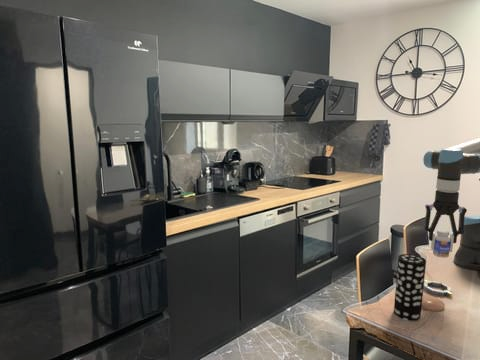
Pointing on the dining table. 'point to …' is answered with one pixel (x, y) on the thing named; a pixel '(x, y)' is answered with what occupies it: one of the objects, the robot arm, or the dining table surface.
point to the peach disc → (432, 303)
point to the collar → (437, 292)
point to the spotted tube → (409, 287)
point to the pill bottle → (442, 244)
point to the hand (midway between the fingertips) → (441, 249)
